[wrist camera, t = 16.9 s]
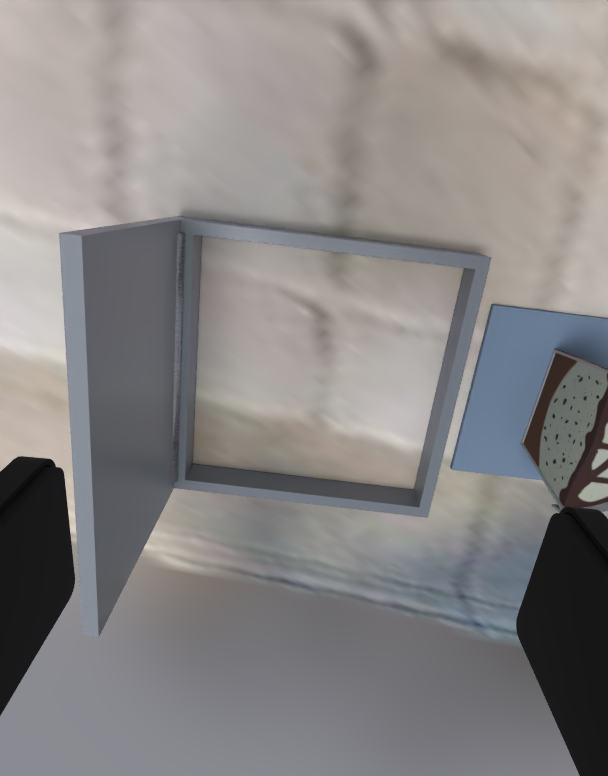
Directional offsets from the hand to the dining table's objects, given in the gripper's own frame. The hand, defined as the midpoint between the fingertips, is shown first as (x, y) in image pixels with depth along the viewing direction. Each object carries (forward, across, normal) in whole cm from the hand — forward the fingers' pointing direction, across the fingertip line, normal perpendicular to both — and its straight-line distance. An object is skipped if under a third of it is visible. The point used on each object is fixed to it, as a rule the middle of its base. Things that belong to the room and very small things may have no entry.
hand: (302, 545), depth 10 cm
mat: (+35, -23, +10) cm, 43 cm away
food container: (+34, -24, +10) cm, 43 cm away
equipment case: (+35, -1, +9) cm, 36 cm away
